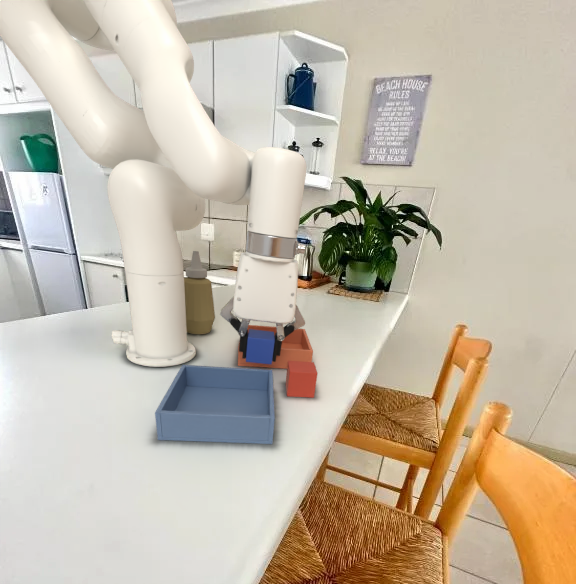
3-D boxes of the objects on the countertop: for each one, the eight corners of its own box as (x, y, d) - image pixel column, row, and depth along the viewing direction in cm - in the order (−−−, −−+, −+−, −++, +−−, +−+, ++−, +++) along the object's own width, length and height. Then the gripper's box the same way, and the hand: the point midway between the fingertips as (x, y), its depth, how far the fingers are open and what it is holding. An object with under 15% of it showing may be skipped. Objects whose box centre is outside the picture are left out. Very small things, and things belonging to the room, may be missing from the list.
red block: (287, 396, 53) (289, 371, 51) (285, 384, 57) (287, 360, 55) (314, 397, 53) (317, 373, 51) (310, 385, 57) (313, 362, 55)
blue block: (245, 362, 55) (247, 337, 53) (247, 352, 59) (249, 328, 57) (271, 364, 56) (274, 340, 54) (271, 354, 60) (274, 331, 58)
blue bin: (157, 440, 40) (154, 412, 38) (183, 387, 52) (182, 364, 50) (272, 444, 41) (274, 417, 39) (270, 391, 54) (272, 369, 52)
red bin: (237, 365, 62) (238, 346, 60) (242, 341, 74) (242, 324, 73) (310, 370, 63) (313, 351, 61) (303, 345, 76) (305, 328, 74)
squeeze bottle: (221, 330, 80) (221, 252, 72) (203, 339, 73) (201, 254, 65) (193, 324, 82) (190, 248, 74) (173, 332, 75) (167, 249, 67)
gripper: (320, 253, 54) (303, 354, 62) (218, 238, 51) (214, 344, 60) (328, 258, 47) (307, 371, 55) (211, 241, 45) (207, 360, 53)
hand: (259, 356), depth 57 cm, fingers closed on blue block, 4 cm apart
